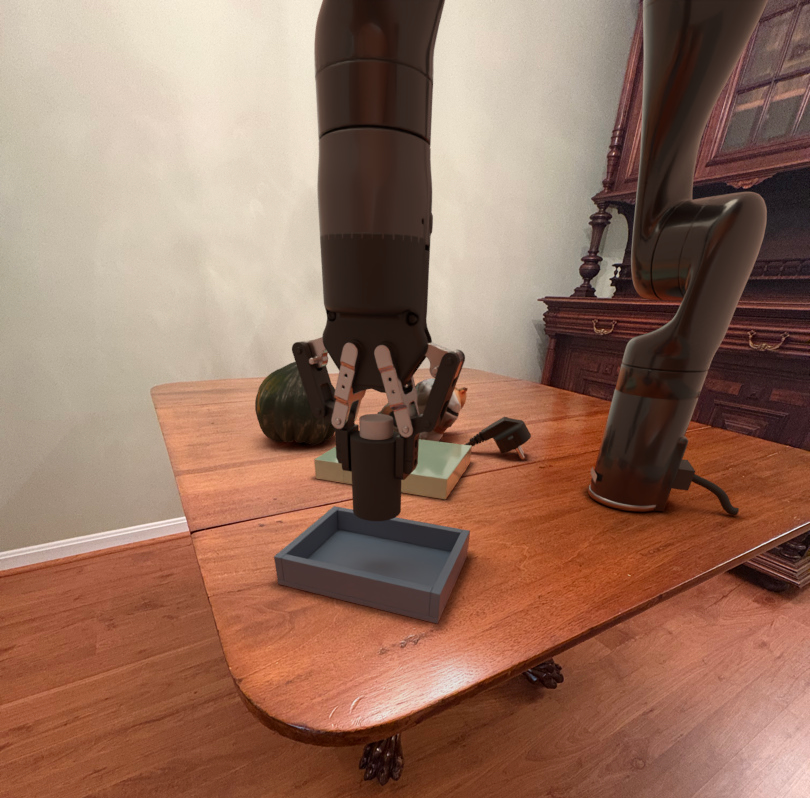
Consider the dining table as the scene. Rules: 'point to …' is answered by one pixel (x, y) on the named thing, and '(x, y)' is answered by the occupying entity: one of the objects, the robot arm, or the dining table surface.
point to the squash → (289, 409)
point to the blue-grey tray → (376, 562)
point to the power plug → (504, 435)
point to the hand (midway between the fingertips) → (376, 471)
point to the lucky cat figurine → (423, 395)
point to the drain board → (429, 478)
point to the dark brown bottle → (375, 469)
